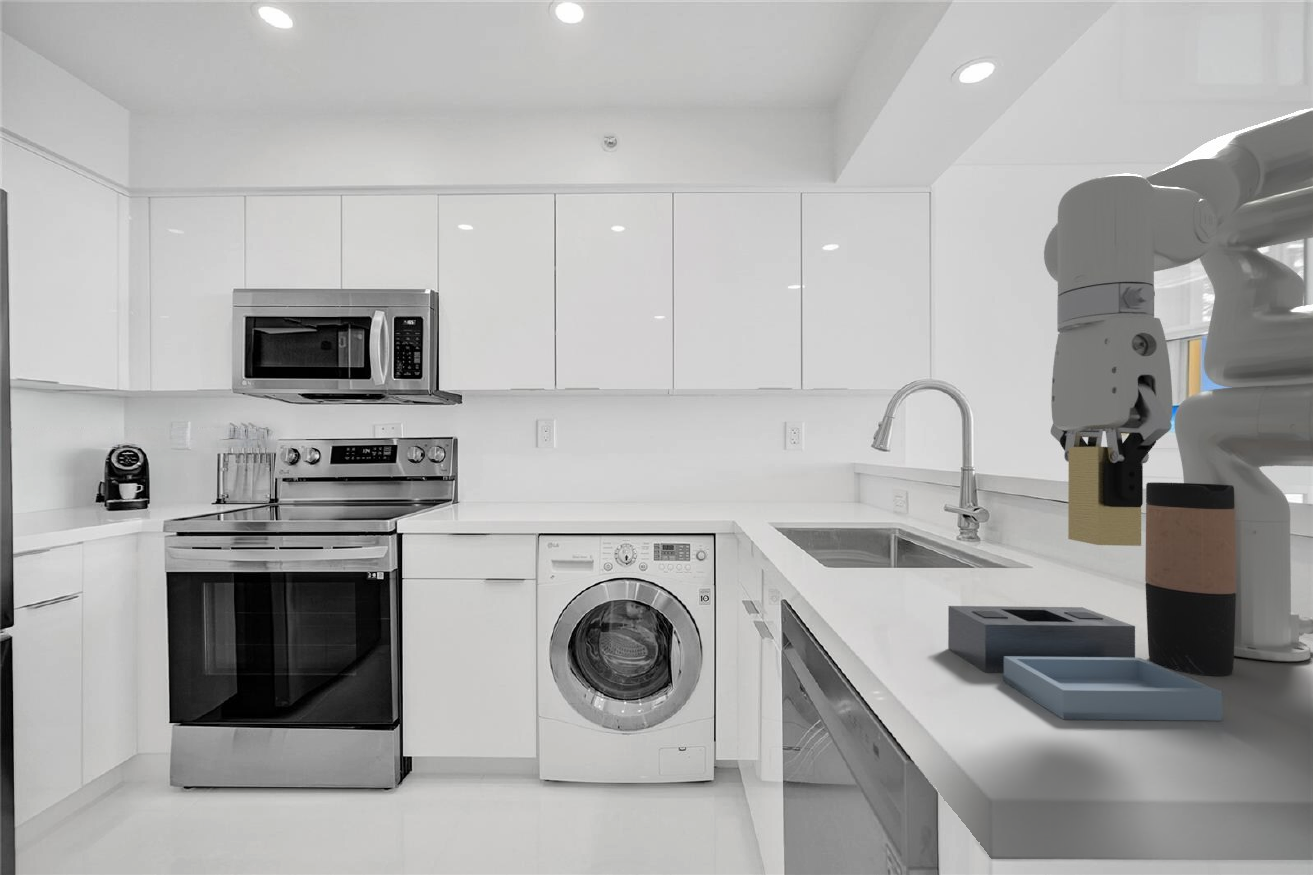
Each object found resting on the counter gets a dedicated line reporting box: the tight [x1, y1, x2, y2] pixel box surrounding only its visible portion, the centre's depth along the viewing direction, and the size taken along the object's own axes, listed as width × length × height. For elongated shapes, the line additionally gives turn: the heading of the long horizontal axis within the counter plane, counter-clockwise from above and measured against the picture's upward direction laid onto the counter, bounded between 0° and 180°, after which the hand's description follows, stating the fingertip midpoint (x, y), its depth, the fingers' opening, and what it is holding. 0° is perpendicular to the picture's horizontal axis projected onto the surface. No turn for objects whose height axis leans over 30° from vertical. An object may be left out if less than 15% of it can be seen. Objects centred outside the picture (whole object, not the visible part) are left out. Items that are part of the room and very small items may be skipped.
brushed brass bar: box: [1067, 446, 1142, 547], centre depth 59 cm, size 4×4×9 cm
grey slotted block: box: [947, 605, 1136, 674], centre depth 70 cm, size 16×8×5 cm, turn 91°
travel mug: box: [1144, 481, 1236, 677], centre depth 69 cm, size 8×8×20 cm
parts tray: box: [1003, 656, 1223, 722], centre depth 59 cm, size 14×9×2 cm, turn 91°
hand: (1103, 502), depth 59 cm, fingers closed on brushed brass bar, 4 cm apart
